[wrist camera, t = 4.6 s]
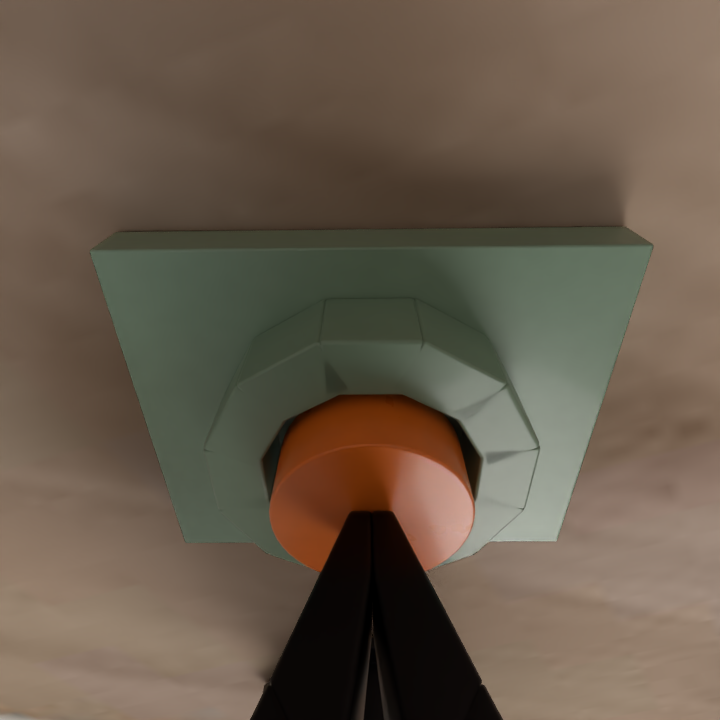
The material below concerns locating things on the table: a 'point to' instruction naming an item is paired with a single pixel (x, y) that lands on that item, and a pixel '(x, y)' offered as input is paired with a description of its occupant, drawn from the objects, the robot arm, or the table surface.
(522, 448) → the control pad
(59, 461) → the table surface
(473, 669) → the robot arm
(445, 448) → the power button
